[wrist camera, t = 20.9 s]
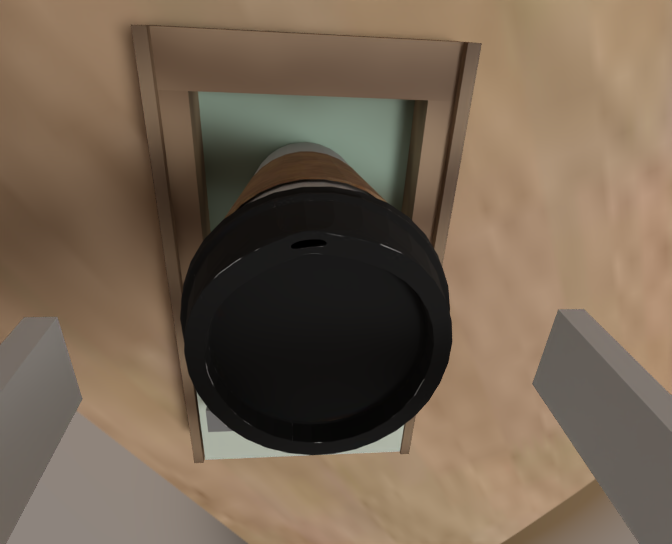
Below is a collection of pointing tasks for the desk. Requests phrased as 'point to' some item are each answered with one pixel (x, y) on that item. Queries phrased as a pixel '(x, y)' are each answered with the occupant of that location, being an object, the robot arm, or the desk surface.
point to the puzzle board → (296, 129)
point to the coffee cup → (315, 310)
